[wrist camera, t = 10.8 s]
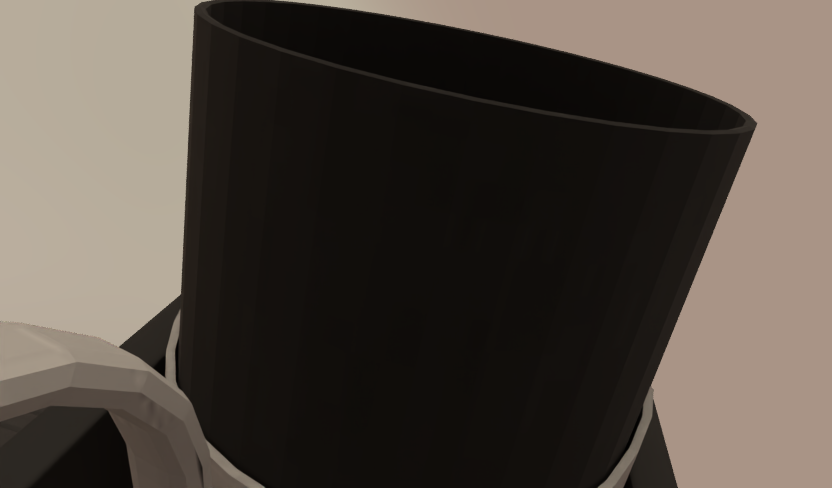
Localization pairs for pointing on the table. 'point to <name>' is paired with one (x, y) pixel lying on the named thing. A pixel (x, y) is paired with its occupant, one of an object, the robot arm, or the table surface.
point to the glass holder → (407, 261)
